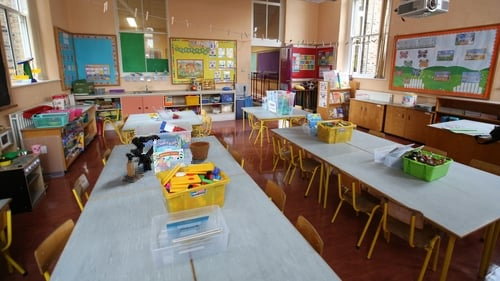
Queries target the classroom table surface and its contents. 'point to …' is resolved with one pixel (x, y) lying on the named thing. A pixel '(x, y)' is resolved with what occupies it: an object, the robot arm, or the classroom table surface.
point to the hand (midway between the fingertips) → (133, 165)
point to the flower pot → (199, 150)
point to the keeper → (132, 178)
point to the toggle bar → (130, 168)
